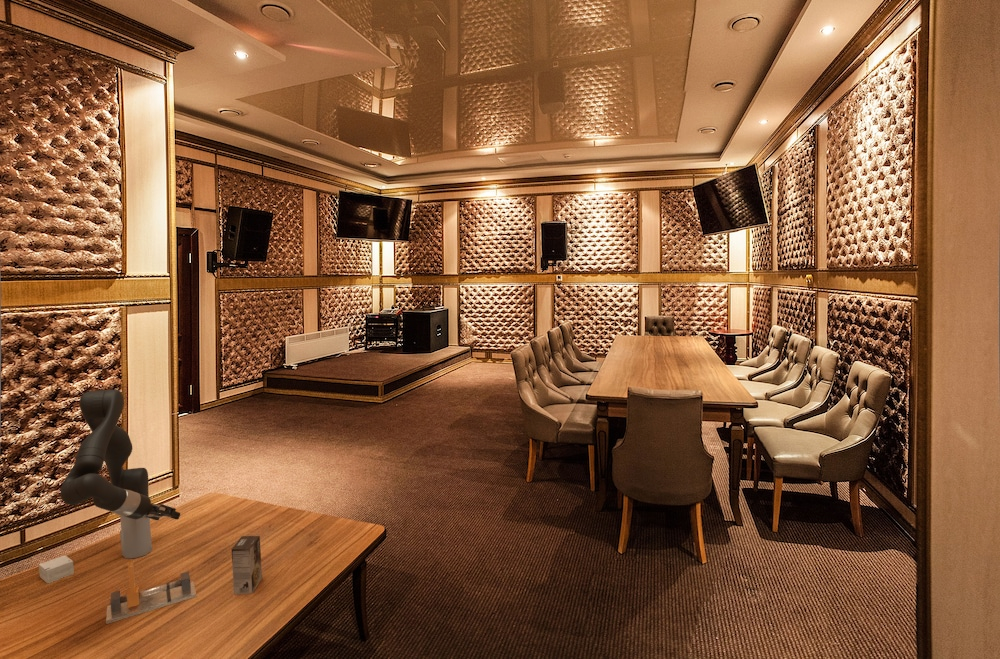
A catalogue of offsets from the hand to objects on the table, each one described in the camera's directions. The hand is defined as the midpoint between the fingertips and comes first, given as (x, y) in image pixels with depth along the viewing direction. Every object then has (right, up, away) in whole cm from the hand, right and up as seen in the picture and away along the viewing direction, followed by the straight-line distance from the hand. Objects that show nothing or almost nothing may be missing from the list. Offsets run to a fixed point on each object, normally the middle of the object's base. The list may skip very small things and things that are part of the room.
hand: (168, 516), depth 181 cm
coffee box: (+27, -24, 0) cm, 36 cm away
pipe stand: (0, -25, -9) cm, 26 cm away
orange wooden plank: (-4, -23, -12) cm, 27 cm away
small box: (-44, -24, +7) cm, 51 cm away
